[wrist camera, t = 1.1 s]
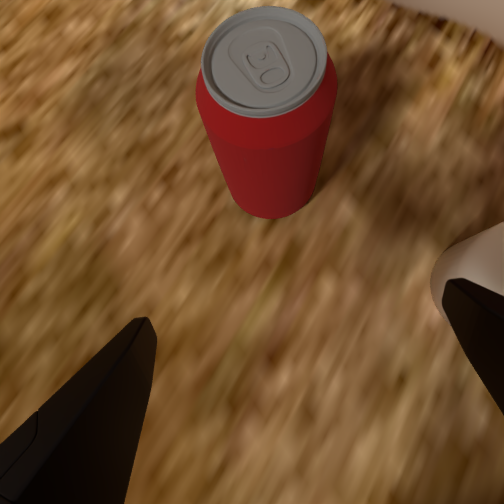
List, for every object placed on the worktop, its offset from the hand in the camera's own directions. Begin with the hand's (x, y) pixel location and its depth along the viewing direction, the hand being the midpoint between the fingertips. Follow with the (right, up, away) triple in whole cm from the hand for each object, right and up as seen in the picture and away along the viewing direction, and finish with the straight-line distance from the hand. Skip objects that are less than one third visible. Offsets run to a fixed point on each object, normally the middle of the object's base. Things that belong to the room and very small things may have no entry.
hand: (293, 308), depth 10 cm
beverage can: (0, +7, +16) cm, 17 cm away
